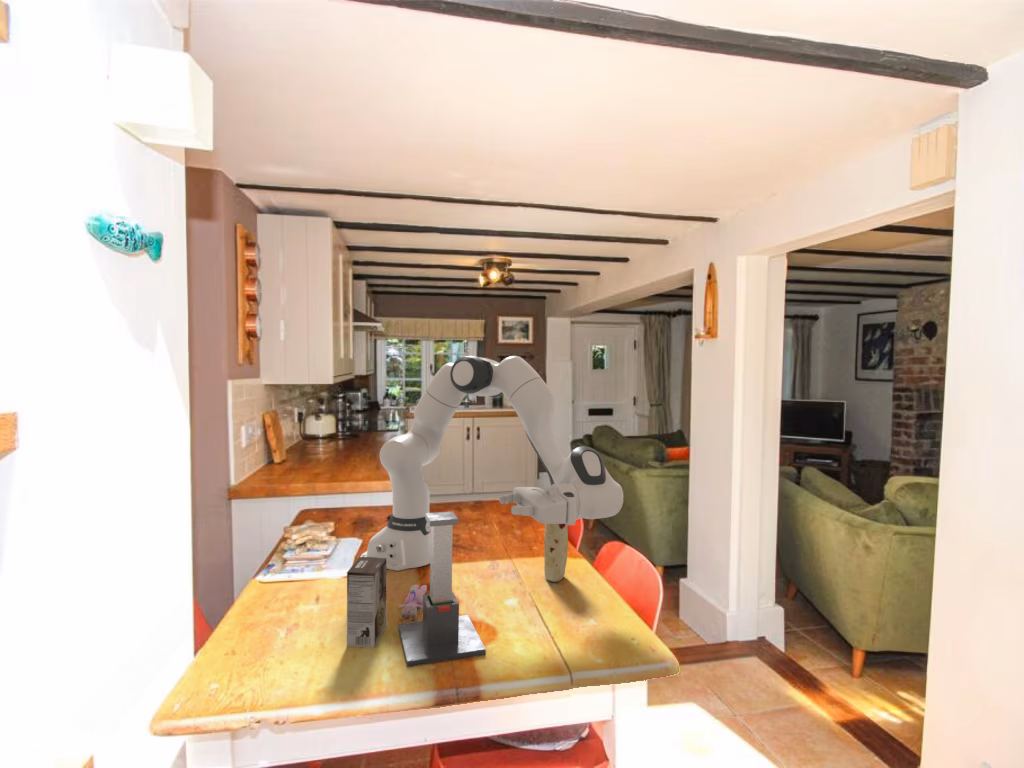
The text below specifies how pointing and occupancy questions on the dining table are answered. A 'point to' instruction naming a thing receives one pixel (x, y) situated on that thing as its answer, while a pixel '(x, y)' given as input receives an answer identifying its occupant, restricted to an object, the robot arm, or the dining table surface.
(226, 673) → the dining table surface
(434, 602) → the steel column
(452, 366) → the robot arm
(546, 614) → the dining table surface
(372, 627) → the coffee box
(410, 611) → the rabbit figure
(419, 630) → the stand base
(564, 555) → the food model
